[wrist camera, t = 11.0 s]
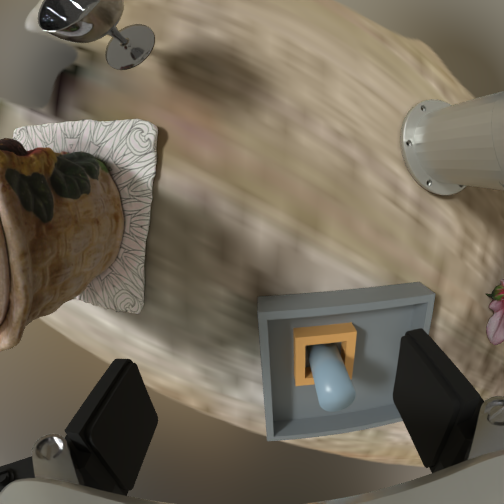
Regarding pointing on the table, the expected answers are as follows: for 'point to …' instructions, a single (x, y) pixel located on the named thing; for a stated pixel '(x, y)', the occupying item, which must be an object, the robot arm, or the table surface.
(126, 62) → the wine glass
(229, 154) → the table surface
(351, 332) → the frame
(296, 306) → the walled box
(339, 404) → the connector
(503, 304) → the flower
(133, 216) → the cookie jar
